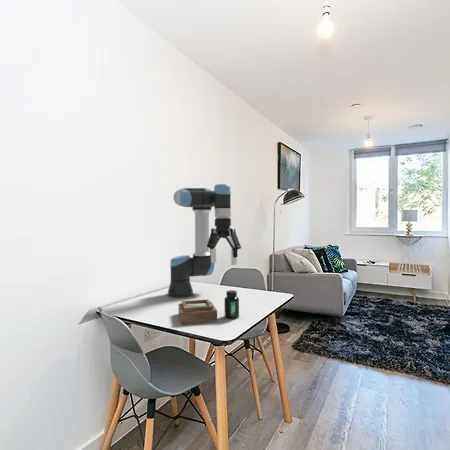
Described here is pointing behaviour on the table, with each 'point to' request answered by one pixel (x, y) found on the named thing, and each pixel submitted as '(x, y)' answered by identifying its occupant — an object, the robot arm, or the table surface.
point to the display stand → (197, 312)
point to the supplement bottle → (231, 305)
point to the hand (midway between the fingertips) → (223, 263)
